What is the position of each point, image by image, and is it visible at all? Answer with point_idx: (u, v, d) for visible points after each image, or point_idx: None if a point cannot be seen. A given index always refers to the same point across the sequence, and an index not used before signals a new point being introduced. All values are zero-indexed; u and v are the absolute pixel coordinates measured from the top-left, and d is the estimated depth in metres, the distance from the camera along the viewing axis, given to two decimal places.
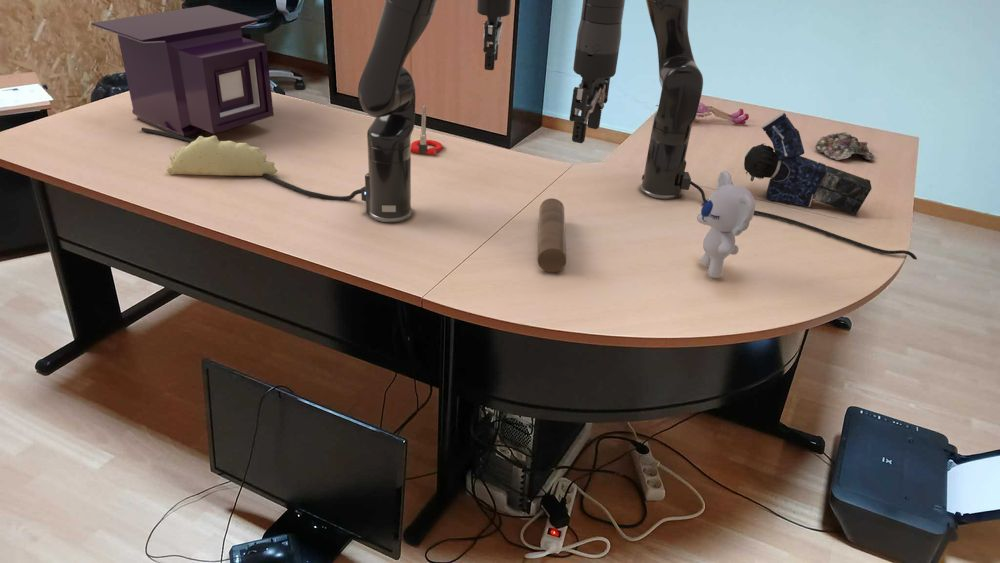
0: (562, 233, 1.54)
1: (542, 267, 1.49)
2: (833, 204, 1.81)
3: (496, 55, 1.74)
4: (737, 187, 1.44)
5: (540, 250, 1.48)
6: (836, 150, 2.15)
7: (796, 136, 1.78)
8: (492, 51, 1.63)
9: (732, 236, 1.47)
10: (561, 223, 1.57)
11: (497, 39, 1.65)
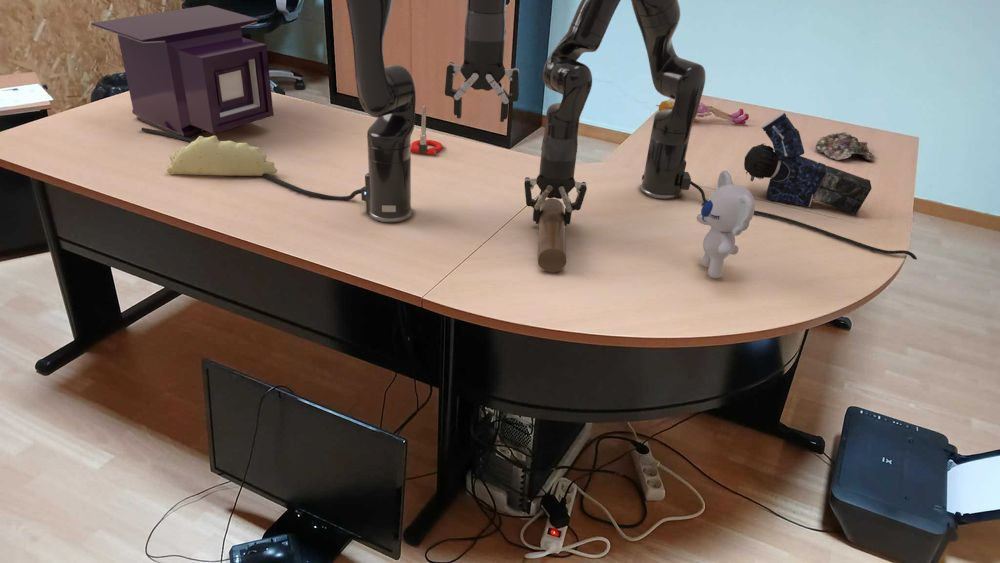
0: (562, 233, 1.54)
1: (542, 267, 1.49)
2: (833, 204, 1.81)
3: None
4: (737, 187, 1.44)
5: (540, 250, 1.48)
6: (836, 150, 2.15)
7: (796, 136, 1.78)
8: None
9: (732, 236, 1.47)
10: (561, 223, 1.57)
11: (540, 197, 1.60)
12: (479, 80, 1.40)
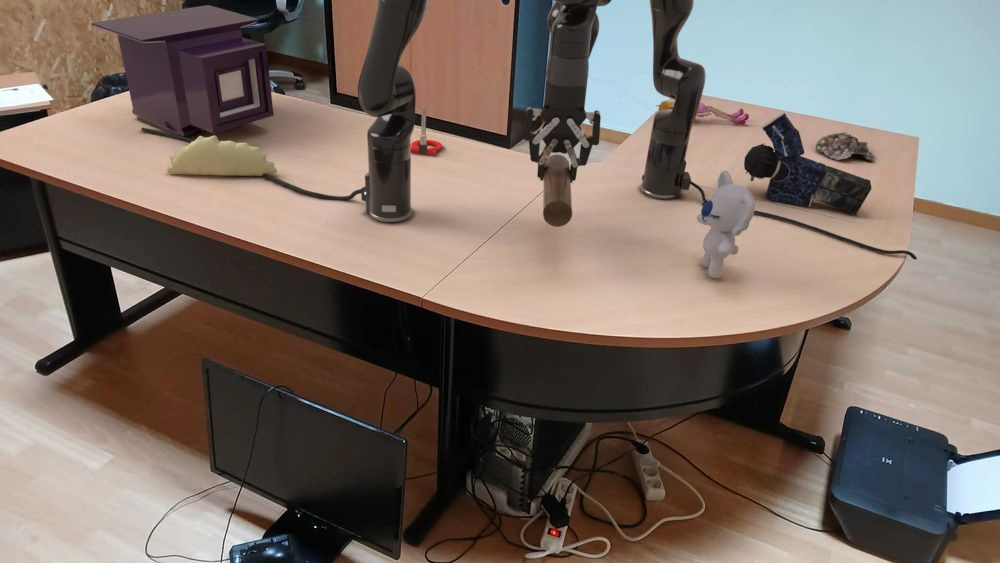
0: (568, 187, 1.48)
1: (547, 221, 1.43)
2: (833, 204, 1.81)
3: None
4: (737, 187, 1.44)
5: (545, 203, 1.43)
6: (836, 150, 2.15)
7: (796, 136, 1.78)
8: (530, 158, 1.57)
9: (732, 236, 1.47)
10: (567, 178, 1.52)
11: (544, 152, 1.55)
12: (559, 124, 1.36)
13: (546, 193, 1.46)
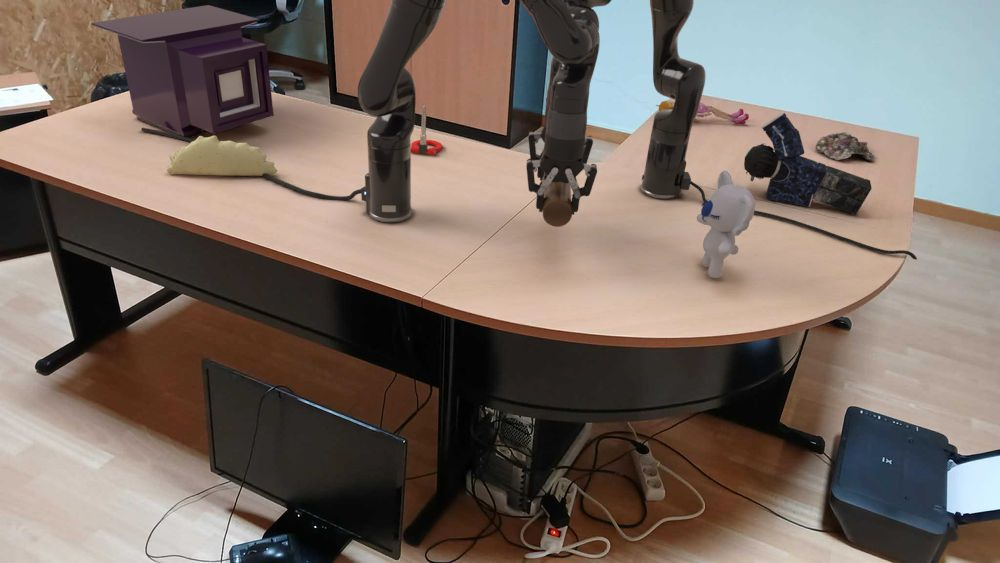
0: (568, 187, 1.48)
1: (547, 221, 1.43)
2: (833, 204, 1.81)
3: None
4: (737, 187, 1.44)
5: (545, 203, 1.43)
6: (836, 150, 2.15)
7: (796, 136, 1.78)
8: (530, 158, 1.57)
9: (732, 236, 1.47)
10: None
11: None
12: (557, 174, 1.41)
13: (546, 193, 1.46)
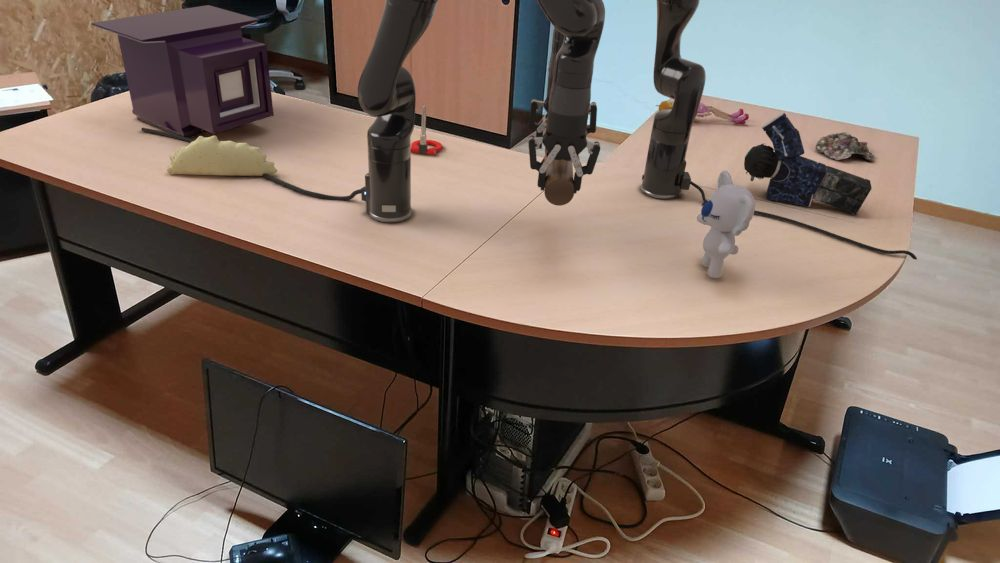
0: (570, 166, 1.46)
1: (549, 199, 1.41)
2: (833, 204, 1.81)
3: None
4: (737, 187, 1.44)
5: (547, 181, 1.41)
6: (836, 150, 2.15)
7: (796, 136, 1.78)
8: (528, 126, 1.55)
9: (732, 236, 1.47)
10: None
11: (545, 120, 1.54)
12: (560, 151, 1.39)
13: (548, 171, 1.44)
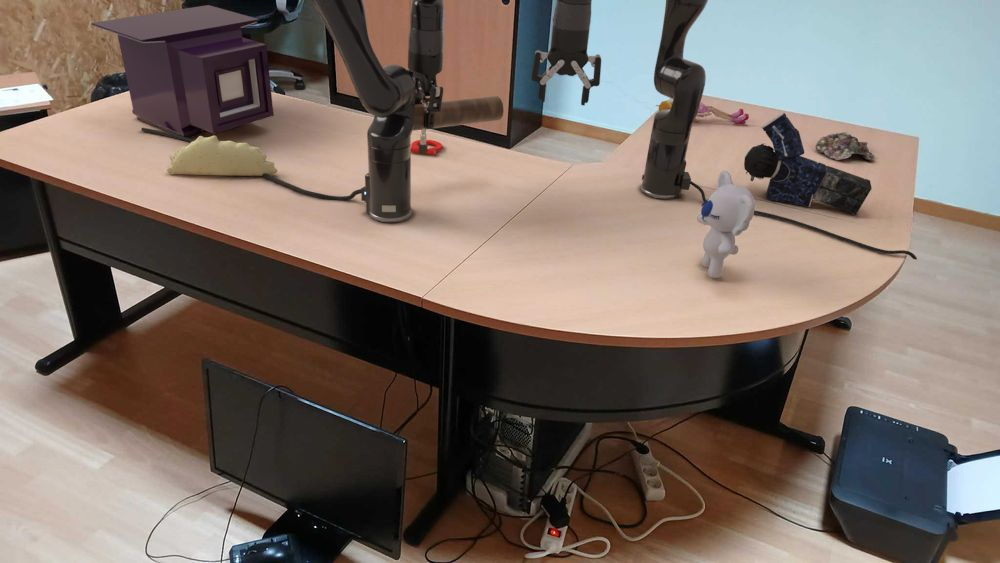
0: (445, 109, 1.66)
1: None
2: (833, 204, 1.81)
3: (582, 99, 1.55)
4: (737, 187, 1.44)
5: None
6: (836, 150, 2.15)
7: (796, 136, 1.78)
8: None
9: (732, 236, 1.47)
10: (462, 106, 1.68)
11: (548, 71, 1.52)
12: None
13: None
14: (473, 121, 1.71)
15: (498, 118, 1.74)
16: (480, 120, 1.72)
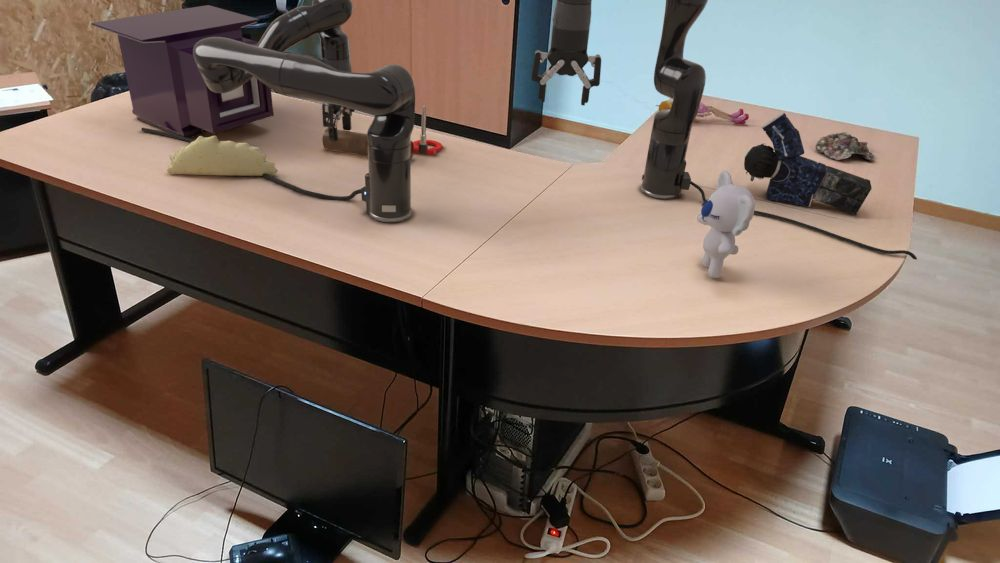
0: (352, 139, 1.92)
1: None
2: (833, 204, 1.81)
3: (582, 99, 1.55)
4: (737, 187, 1.44)
5: None
6: (836, 150, 2.15)
7: (796, 136, 1.78)
8: None
9: (732, 236, 1.47)
10: None
11: (548, 71, 1.52)
12: None
13: None
14: None
15: None
16: None
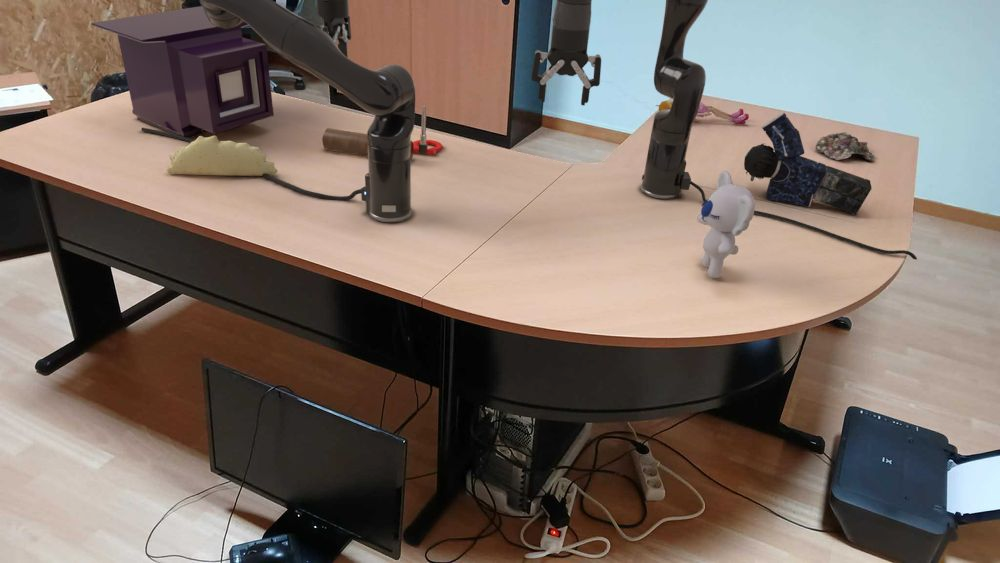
0: (352, 139, 1.92)
1: None
2: (833, 204, 1.81)
3: (582, 99, 1.55)
4: (737, 187, 1.44)
5: None
6: (836, 150, 2.15)
7: (796, 136, 1.78)
8: None
9: (732, 236, 1.47)
10: None
11: (548, 71, 1.52)
12: None
13: None
14: None
15: None
16: None
